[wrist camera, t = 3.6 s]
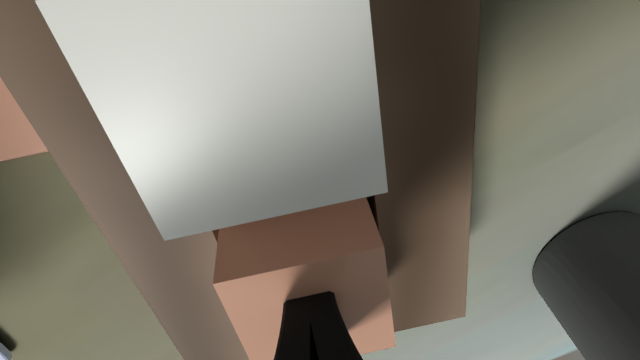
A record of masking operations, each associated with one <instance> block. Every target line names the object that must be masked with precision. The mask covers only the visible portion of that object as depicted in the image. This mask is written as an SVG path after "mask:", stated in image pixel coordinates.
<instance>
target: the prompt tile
mask: <svg viewBox="0 0 640 360" xmlns="http://www.w3.org/2000/svg"><path fill="white" fill-rule="evenodd" d="M47 151H48V150H47V148H46V147H45V145H44V144H43V142H42V140H41V139H40V137H39V136H38V134H37V133H36V131H35V130H34V128H33V127H32V125H31V124H30V122H29V120H28V119H27V117H26V116H25V114H24V113H23V111H22V110H21V108H20V107H19V105H18V104H17V102H16V101H15V99H14V97H13V96H12V94H11V93H10V91H9V90H8V88H7V87H6V85H5V84H4V82H3V81H2V79H1V77H0V161H5V160H9V159H14V158H19V157H23V156H28V155H33V154H37V153H42V152H47Z"/></svg>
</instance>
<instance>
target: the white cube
mask: <svg viewBox="0 0 640 360" xmlns="http://www.w3.org/2000/svg"><path fill="white" fill-rule="evenodd" d="M35 2H36V4H37V6H38V8H39V10H40V11H41V13H42V15H43V17H44V19H45V21H46V23H47V24H48V26H49V28H50V30H51V32H52V34H53V36H54V37H55V39H56V41H57V43H58V45H59V47H60V48H61V50H62V52H63V54H64V56H65V58H66V60H67V61H68V63H69V65H70V67H71V69H72V71H73V73H74V74H75V76H76V78H77V80H78V82H79V84H80V86H81V87H82V89H83V91H84V93H85V95H86V97H87V99H88V100H89V102H90V104H91V106H92V108H93V110H94V111H95V113H96V115H97V117H98V119H99V121H100V123H101V124H102V126H103V128H104V130H105V132H106V134H107V136H108V137H109V139H110V141H111V143H112V145H113V147H114V149H115V150H116V152H117V154H118V156H119V158H120V160H121V162H122V163H123V165H124V167H125V169H126V171H127V173H128V174H129V176H130V178H131V180H132V182H133V184H134V186H135V187H136V189H137V191H138V193H139V195H140V197H141V199H142V200H143V202H144V204H145V206H146V208H147V210H148V212H149V213H150V215H151V217H152V219H153V221H154V223H155V225H156V226H157V228H158V230H159V232H160V234H161V236H162V237H163V239H164V241H166V240H171V239H175V238H180V237H185V236H189V235H194V234H198V233H203V232H208V231H212V230H217V229H221V228H226V227H231V226H235V225H240V224H244V223H249V222H254V221H258V220H263V219H267V218H272V217H277V216H281V215H286V214H291V213H295V212H300V211H304V210H309V209H314V208H318V207H323V206H327V205H332V204H337V203H341V202H346V201H350V200H355V199H360V198H364V197H369V196H373V195H378V194H383V193H387V192H388V187H387V177H386V167H385V156H384V146H383V136H382V126H381V116H380V106H379V95H378V85H377V75H376V65H375V55H374V45H373V34H372V24H371V14H370V4H369V0H35Z"/></svg>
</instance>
